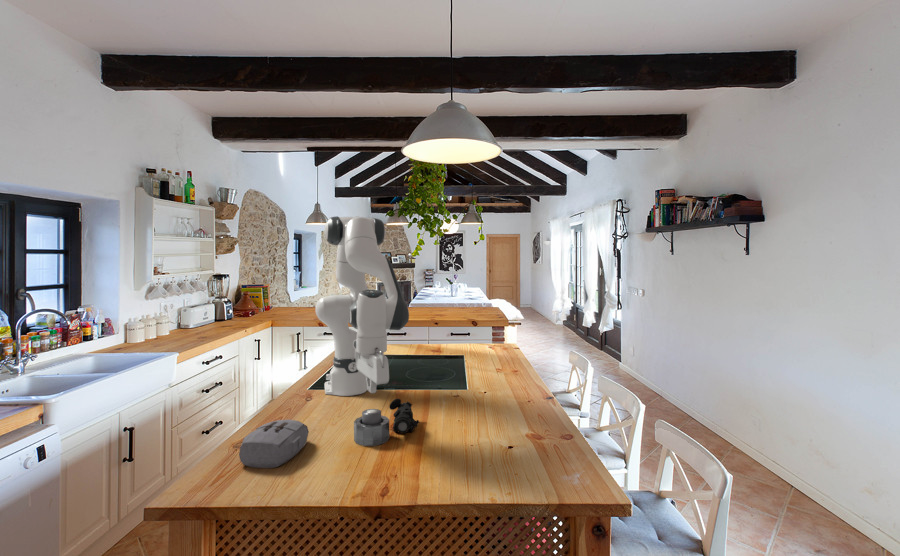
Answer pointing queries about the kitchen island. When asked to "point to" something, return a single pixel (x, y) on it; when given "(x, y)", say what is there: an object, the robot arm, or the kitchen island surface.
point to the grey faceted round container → (371, 432)
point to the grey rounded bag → (273, 443)
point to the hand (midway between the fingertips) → (371, 391)
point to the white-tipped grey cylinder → (371, 417)
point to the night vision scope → (403, 416)
